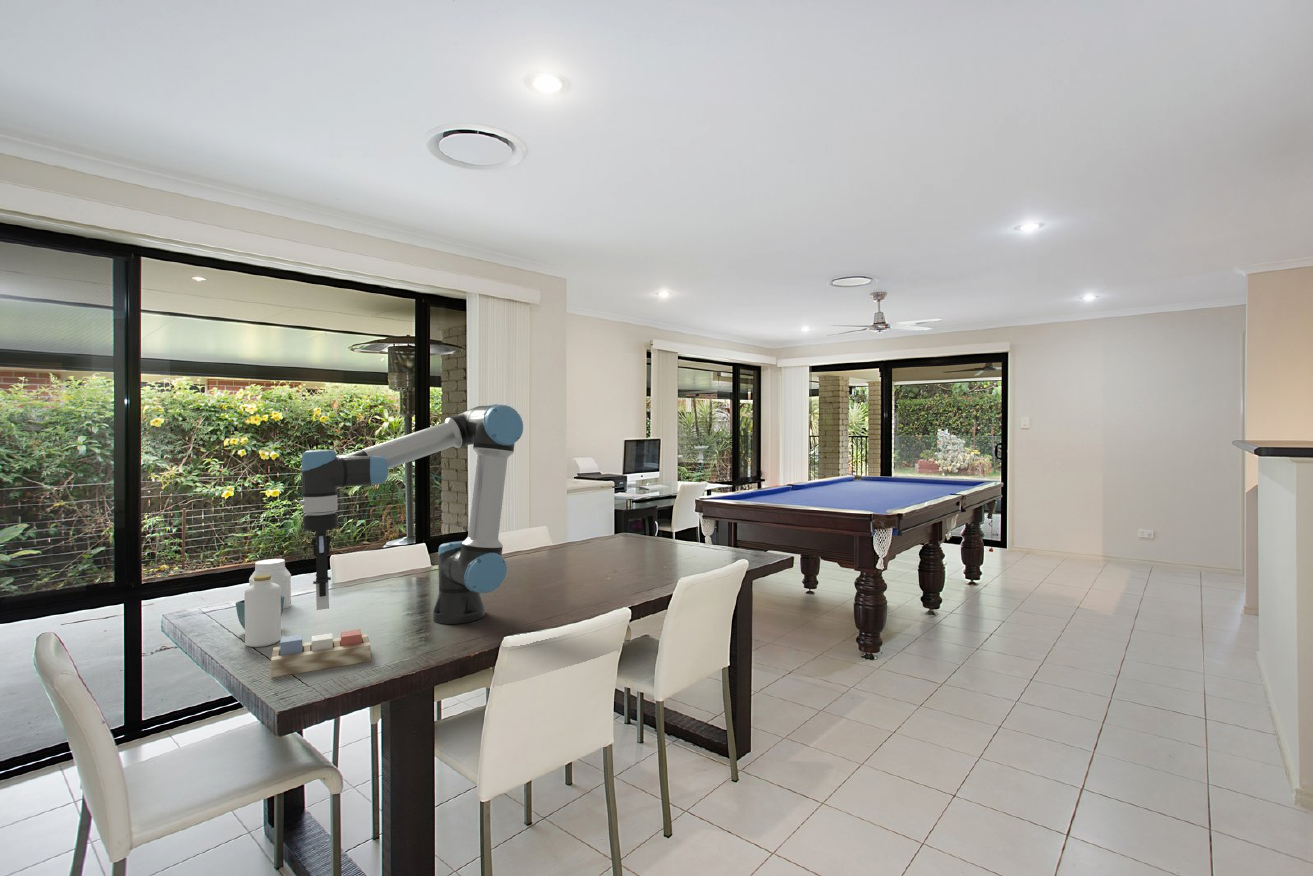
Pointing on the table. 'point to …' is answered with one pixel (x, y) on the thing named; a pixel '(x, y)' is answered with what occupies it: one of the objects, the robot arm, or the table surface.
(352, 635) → the red key
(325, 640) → the white key
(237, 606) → the flower pot
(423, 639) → the table surface
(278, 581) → the jar
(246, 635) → the potion bottle
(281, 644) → the blue short block
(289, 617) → the table surface
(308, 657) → the wooden block holder
